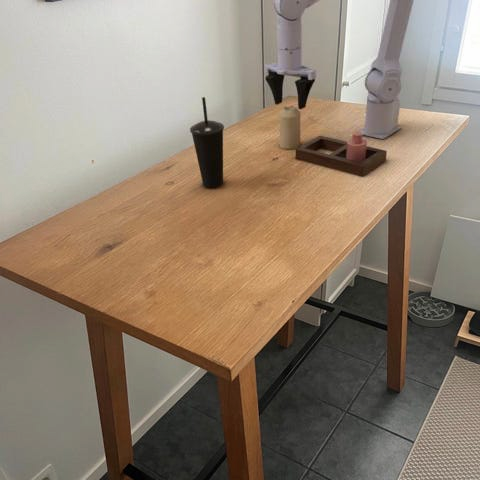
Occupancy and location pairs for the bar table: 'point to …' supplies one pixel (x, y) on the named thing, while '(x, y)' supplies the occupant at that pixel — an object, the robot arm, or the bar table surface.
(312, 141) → the holder
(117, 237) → the bar table surface
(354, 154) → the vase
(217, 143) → the drinking cup
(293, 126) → the candle
